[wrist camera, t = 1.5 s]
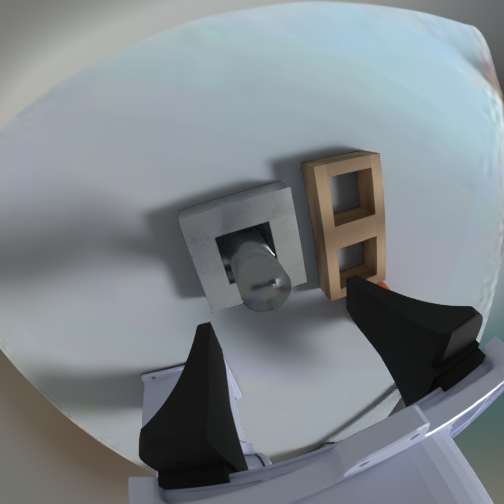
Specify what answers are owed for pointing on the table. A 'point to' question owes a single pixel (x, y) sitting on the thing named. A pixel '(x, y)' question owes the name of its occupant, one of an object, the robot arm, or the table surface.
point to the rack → (347, 219)
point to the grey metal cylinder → (256, 270)
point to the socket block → (236, 218)
